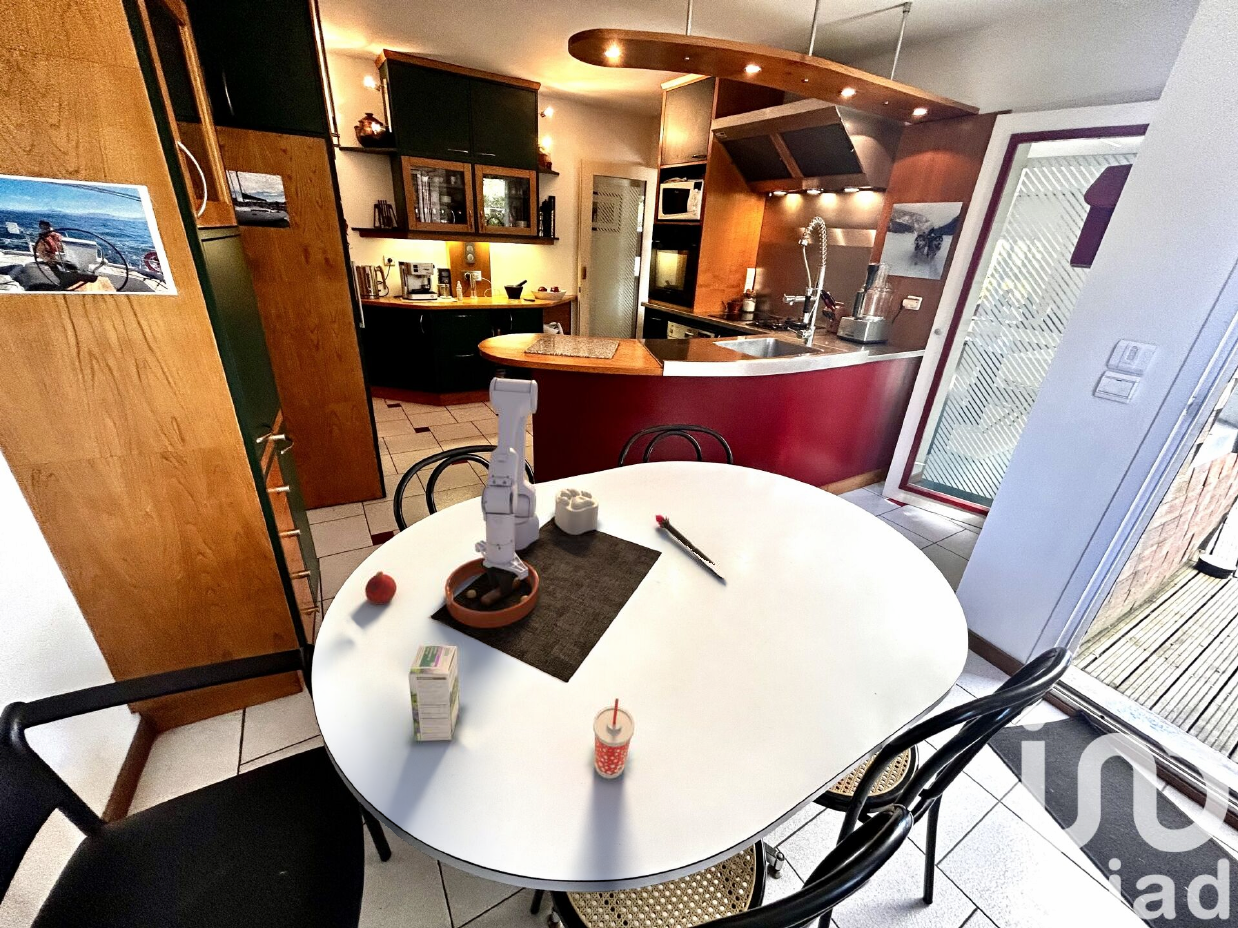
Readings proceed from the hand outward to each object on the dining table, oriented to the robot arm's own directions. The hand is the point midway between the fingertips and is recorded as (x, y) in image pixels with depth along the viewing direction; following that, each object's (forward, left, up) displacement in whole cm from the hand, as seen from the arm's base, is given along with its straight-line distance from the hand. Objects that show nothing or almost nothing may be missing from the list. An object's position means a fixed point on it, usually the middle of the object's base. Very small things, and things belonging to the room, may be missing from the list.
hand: (501, 590), depth 106 cm
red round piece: (+18, -17, -3) cm, 25 cm away
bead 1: (+5, -4, -1) cm, 6 cm away
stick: (0, 0, -1) cm, 1 cm away
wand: (-46, +20, -3) cm, 51 cm away
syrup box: (+27, +16, -3) cm, 31 cm away
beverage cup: (+14, +41, -3) cm, 43 cm away
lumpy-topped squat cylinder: (-35, -11, -3) cm, 37 cm away
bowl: (+2, -1, -2) cm, 3 cm away
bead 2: (-2, +5, -1) cm, 6 cm away
